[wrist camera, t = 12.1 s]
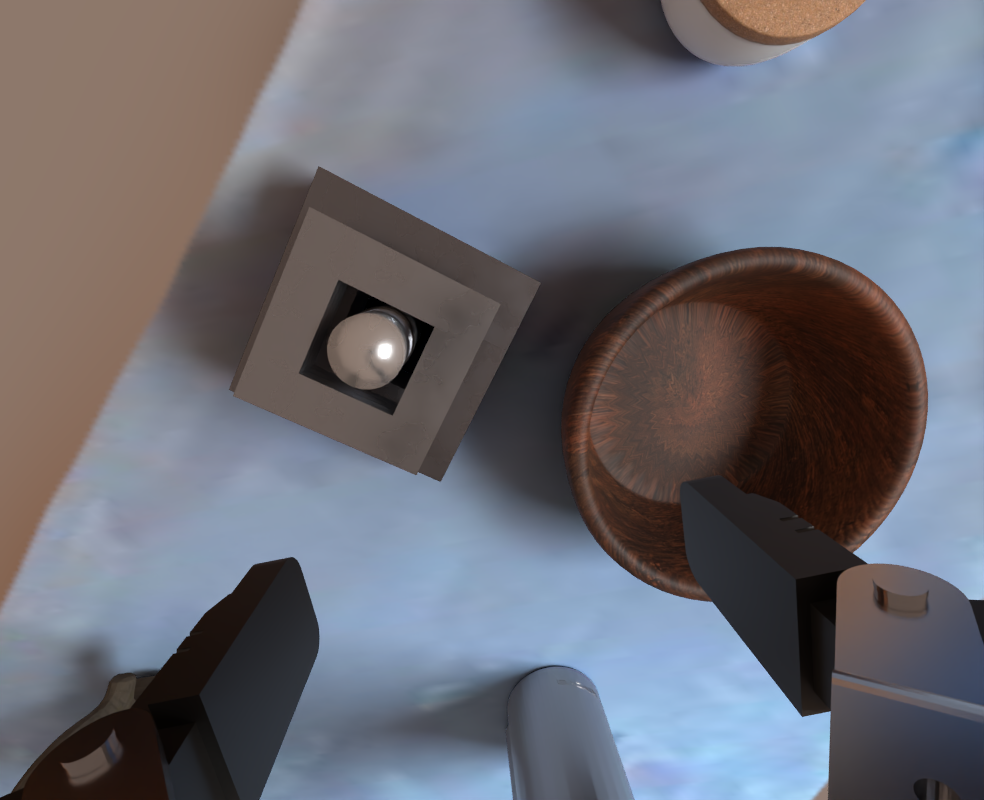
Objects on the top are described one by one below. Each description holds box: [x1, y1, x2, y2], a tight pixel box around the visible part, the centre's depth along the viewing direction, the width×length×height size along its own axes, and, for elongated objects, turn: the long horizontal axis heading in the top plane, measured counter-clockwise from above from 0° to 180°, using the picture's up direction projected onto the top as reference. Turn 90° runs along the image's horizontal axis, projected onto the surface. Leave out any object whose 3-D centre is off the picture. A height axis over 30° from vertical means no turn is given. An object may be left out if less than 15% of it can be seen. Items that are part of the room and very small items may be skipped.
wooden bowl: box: [561, 247, 928, 602], centre depth 38 cm, size 25×25×10 cm
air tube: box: [327, 304, 422, 389], centre depth 33 cm, size 4×4×14 cm
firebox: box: [229, 167, 541, 482], centre depth 34 cm, size 16×16×13 cm
